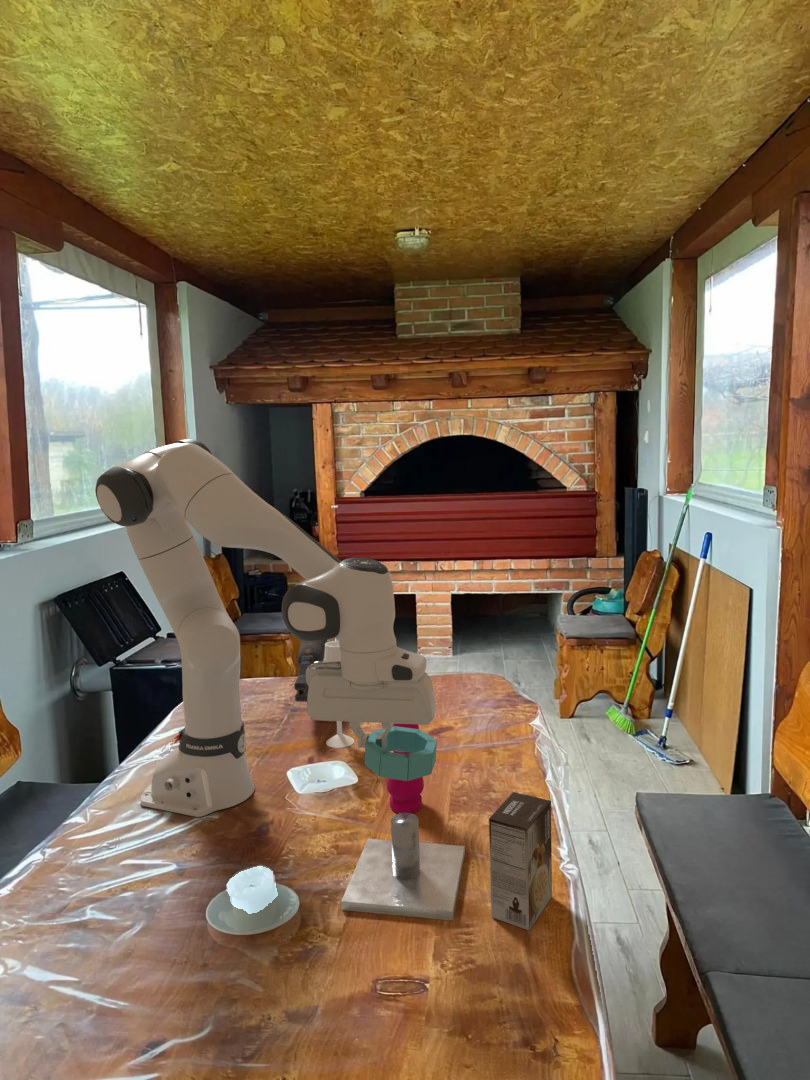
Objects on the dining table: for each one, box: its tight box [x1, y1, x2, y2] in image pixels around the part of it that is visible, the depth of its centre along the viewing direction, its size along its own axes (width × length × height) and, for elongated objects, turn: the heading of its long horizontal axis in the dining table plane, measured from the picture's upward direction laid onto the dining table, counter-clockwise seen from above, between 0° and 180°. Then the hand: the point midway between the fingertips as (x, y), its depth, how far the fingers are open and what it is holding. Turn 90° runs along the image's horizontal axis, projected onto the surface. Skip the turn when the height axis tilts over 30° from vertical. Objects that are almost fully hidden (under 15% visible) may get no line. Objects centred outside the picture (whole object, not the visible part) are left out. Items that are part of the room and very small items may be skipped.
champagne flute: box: [323, 640, 355, 749], centre depth 166 cm, size 7×7×24 cm
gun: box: [294, 639, 328, 703], centre depth 184 cm, size 7×28×20 cm, turn 179°
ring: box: [363, 726, 438, 781], centre depth 112 cm, size 11×11×4 cm
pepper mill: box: [386, 723, 425, 814], centre depth 136 cm, size 7×7×20 cm
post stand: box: [340, 813, 466, 921], centre depth 114 cm, size 17×17×10 cm
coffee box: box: [488, 791, 553, 931], centre depth 106 cm, size 9×6×16 cm
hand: (372, 746), depth 112 cm, fingers closed on ring
